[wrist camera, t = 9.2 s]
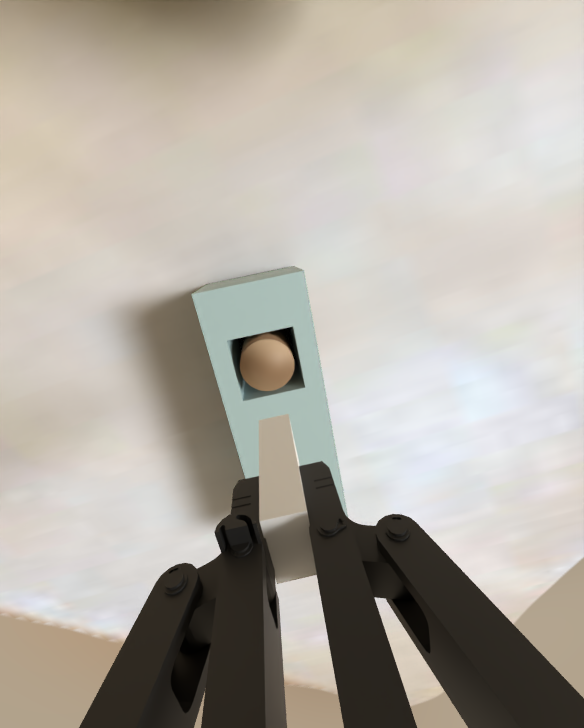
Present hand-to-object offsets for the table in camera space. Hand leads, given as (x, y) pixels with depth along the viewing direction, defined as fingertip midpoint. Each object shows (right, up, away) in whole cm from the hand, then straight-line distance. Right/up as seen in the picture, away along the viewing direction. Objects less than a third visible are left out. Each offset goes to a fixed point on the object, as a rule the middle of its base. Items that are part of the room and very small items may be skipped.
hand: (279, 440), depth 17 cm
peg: (-2, +6, +19) cm, 20 cm away
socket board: (-1, 0, +22) cm, 22 cm away
